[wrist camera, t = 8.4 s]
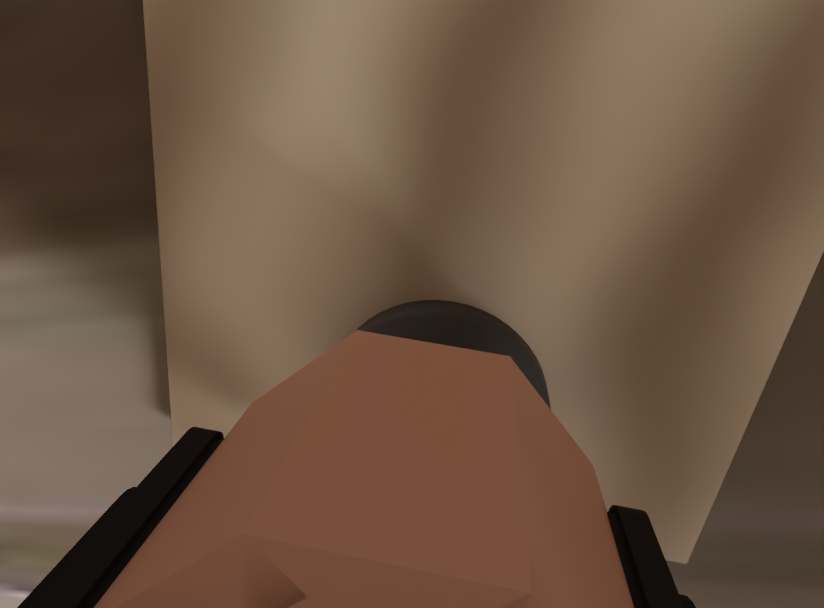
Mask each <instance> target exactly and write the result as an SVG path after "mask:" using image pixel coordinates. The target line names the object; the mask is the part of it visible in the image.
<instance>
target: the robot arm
mask: <svg viewBox="0 0 824 608" xmlns="http://www.w3.org/2000/svg"><path fill="white" fill-rule="evenodd" d="M223 440H224V435H223V433H222V432H220V431H215V430H210V429H204V428H199V427H191V428H190V429H189V430H188V431H187V432H186V433H185V434H184V435H183V436H182V437H181V438H180V440H179V441H178V442H177V443H176V444H175V445H174V446H173V447H172V448H171V450H170V451H169V452H168V453H167V454H166V455H165V456H164V457H163V458H162V460H161V461H160V462H159V463H158V464H157V465H156V466H155V467H154V468H153V470H152V471H151V472H150V473H149V474H148V475H147V476H146V477H145V478H144V480H143V481H142V482H141V483H140V484H139V485H138V486H137V487H132V488H130V489H128V490H126V491H125V492H124V493H123V494H122V495H121V496H120V497H119V498H118V499H117V500H116V501H115V502H114V503H113V504H112V505H111V506H110V508H109V509H108V510H107V511H106V512H105V513H104V514H103V515H102V516H101V517H100V518H99V520H98V521H97V522H96V523H95V524H94V525H93V526H92V527H91V528H90V529H89V530H88V531H87V533H86V534H85V535H84V536H83V537H82V538H81V539H80V540H79V541H78V542H77V543H76V545H75V546H74V547H73V548H72V549H71V550H70V551H69V552H68V553H67V554H66V555H65V556H64V558H63V559H62V560H61V561H60V562H59V563H58V564H57V565H56V566H55V567H54V568H53V570H52V571H51V572H50V573H49V574H48V575H47V576H46V577H45V578H44V579H43V580H42V581H41V583H40V584H39V585H38V586H37V587H36V588H35V589H34V590H33V591H32V592H31V593H30V595H29V596H28V597H27V598H26V599H25V600H24V601H23V602H22V603H21V604H20V605H19V606H18V608H94V607H95V605H96V604H97V603H98V602H99V600H100V599H101V598H102V596H103V595H104V594H105V593H106V591H107V590H108V589H109V587H110V586H111V585H112V583H113V582H114V581H115V580H116V578H117V577H118V576H119V574H120V573H121V572H122V570H123V569H124V568H125V567H126V565H127V564H128V563H129V561H130V560H131V559H132V558H133V556H134V555H135V554H136V552H137V551H138V550H139V548H140V547H141V546H142V545H143V543H144V542H145V541H146V539H147V538H148V537H149V536H150V534H151V533H152V532H153V530H154V529H155V528H156V526H157V525H158V524H159V523H160V521H161V520H162V519H163V517H164V516H165V515H166V513H167V512H168V511H169V510H170V508H171V507H172V506H173V504H174V503H175V502H176V501H177V499H178V498H179V497H180V495H181V494H182V493H183V491H184V490H185V489H186V488H187V486H188V485H189V484H190V482H191V481H192V480H193V479H194V477H195V476H196V475H197V473H198V472H199V471H200V469H201V468H202V467H203V466H204V464H205V463H206V462H207V460H208V459H209V458H210V457H211V455H212V454H213V453H214V451H215V450H216V449H217V447H218V446H219V445H220V444H221V442H222V441H223ZM607 516H608V520H609V523H610V526H611V530H612V533H613V537H614V540H615V544H616V547H617V550H618V554H619V557H620V561H621V564H622V568H623V571H624V574H625V578H626V581H627V585H628V588H629V592H630V595H631V598H632V602H633V605H634V608H696V607H695V606H694V604H693V602H692V601H691V600H690V599H689V598H688V597H687V596H684V595H679V593H678V591H677V588H676V586H675V583H674V581H673V578H672V575H671V573H670V570H669V568H668V565H667V563H666V560H665V557H664V555H663V552H662V550H661V547H660V545H659V542H658V539H657V537H656V534H655V532H654V529H653V527H652V524H651V521H650V519H649V516H648V515H647V513H646V512H645V511H644V510H639V509H634V508H628V507H623V506H618V505H612V506H611V507H610V509H609V511H608V512H607Z"/></svg>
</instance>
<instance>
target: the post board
mask: <svg viewBox="0 0 824 608" xmlns="http://www.w3.org/2000/svg"><path fill="white" fill-rule="evenodd" d="M143 11H144V26H145V41H146V55H147V70H148V85H149V100H150V114H151V129H152V144H153V159H154V173H155V188H156V203H157V218H158V232H159V247H160V262H161V277H162V291H163V306H164V321H165V336H166V350H167V365H168V380H169V395H170V409H171V424H172V439H173V446H174V445H175V444H176V443H177V442H178V441H179V440H180V438H181V437H182V436H183V435H184V434H185V433H186V432H187V431H188V430H189V429H190V428H191V427H199V428H204V429H210V430H215V431H220V432H222V433H223V435H224V438H225V437H226V436H227V434H228V433H229V432H230V431H231V429H232V428H233V427H234V425H235V424H236V423H237V422H238V420H239V419H240V418H241V416H242V415H243V414H244V412H245V411H246V410H247V409H248V407H249V406H250V405H251V403H252V402H253V401H255V400H256V399H258V398H259V397H261V396H262V395H264V394H265V393H267V392H268V391H269V390H271V389H272V388H274V387H275V386H277V385H278V384H280V383H281V382H282V381H284V380H285V379H287V378H288V377H290V376H291V375H293V374H294V373H296V372H297V371H298V370H300V369H301V368H303V367H304V366H306V365H307V364H309V363H310V362H312V361H313V360H314V359H316V358H317V357H319V356H320V355H322V354H323V353H325V352H326V351H327V350H329V349H330V348H332V347H333V346H335V345H336V344H338V343H339V342H341V341H342V340H343V339H345V338H346V337H348V336H349V335H351V334H352V333H354V332H355V331H356V330H360V331H366V332H372V333H378V334H383V335H389V336H395V337H401V338H407V339H412V340H418V341H424V342H430V343H436V344H441V345H447V346H453V347H459V348H465V349H471V350H476V351H482V352H488V353H494V354H500V355H505V356H510V357H511V358H512V360H513V361H514V362H515V364H516V365H517V366H518V368H519V369H520V370H521V371H522V373H523V374H524V375H525V377H526V378H527V379H528V381H529V382H530V383H531V385H532V386H533V387H534V388H535V390H536V391H537V392H538V394H539V395H540V396H541V398H542V399H543V400H544V402H545V403H546V404H547V406H548V407H549V408H550V409H551V411H552V412H553V413H554V415H555V416H556V417H557V419H558V420H559V421H560V423H561V424H562V425H563V426H564V428H565V429H566V430H567V432H568V433H569V434H570V436H571V437H572V438H573V440H574V441H575V442H576V443H577V445H578V446H579V447H580V449H581V450H582V451H583V453H584V454H585V455H586V457H587V458H588V459H589V460H590V462H591V463H592V464H593V466H594V469H595V473H596V476H597V480H598V483H599V486H600V490H601V493H602V497H603V500H604V503H605V507H606V510H607V512H608V511H609V509H610V507H611V506H612V505H618V506H623V507H628V508H634V509H639V510H644V511H645V512H646V513H647V515H648V516H649V519H650V521H651V524H652V527H653V529H654V532H655V534H656V537H657V539H658V542H659V545H660V547H661V550H662V552H663V555H664V557H665V560H668V561H673V562H678V563H683V564H687V562H688V560H689V558H690V555H691V553H692V551H693V549H694V546H695V544H696V542H697V539H698V537H699V535H700V533H701V530H702V528H703V526H704V523H705V521H706V519H707V517H708V514H709V512H710V510H711V507H712V505H713V503H714V501H715V498H716V496H717V494H718V492H719V489H720V487H721V485H722V482H723V480H724V478H725V476H726V473H727V471H728V469H729V466H730V464H731V462H732V460H733V457H734V455H735V453H736V450H737V448H738V446H739V444H740V441H741V439H742V437H743V434H744V432H745V430H746V428H747V425H748V423H749V421H750V418H751V416H752V414H753V412H754V409H755V407H756V405H757V402H758V400H759V398H760V396H761V393H762V391H763V389H764V386H765V384H766V382H767V380H768V377H769V375H770V373H771V370H772V368H773V366H774V364H775V361H776V359H777V357H778V354H779V352H780V350H781V348H782V345H783V343H784V341H785V338H786V336H787V334H788V332H789V329H790V327H791V325H792V322H793V320H794V318H795V316H796V313H797V311H798V309H799V307H800V304H801V302H802V300H803V297H804V295H805V293H806V291H807V288H808V286H809V284H810V281H811V279H812V277H813V275H814V272H815V270H816V268H817V265H818V263H819V261H820V259H821V256H822V254H823V252H824V0H143Z"/></svg>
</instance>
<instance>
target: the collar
mask: <svg viewBox="0 0 824 608" xmlns="http://www.w3.org/2000/svg"><path fill="white" fill-rule="evenodd" d="M94 608H634V605H633V602H632V598H631V595H630V592H629V588H628V585H627V581H626V578H625V574H624V571H623V568H622V564H621V561H620V557H619V554H618V550H617V547H616V544H615V540H614V537H613V533H612V530H611V526H610V523H609V520H608V516H607V510H606V507H605V503H604V500H603V497H602V493H601V490H600V486H599V483H598V480H597V476H596V473H595V469H594V466H593V464H592V463H591V462H590V460H589V459H588V458H587V457H586V455H585V454H584V453H583V451H582V450H581V449H580V447H579V446H578V445H577V443H576V442H575V441H574V440H573V438H572V437H571V436H570V434H569V433H568V432H567V430H566V429H565V428H564V426H563V425H562V424H561V423H560V421H559V420H558V419H557V417H556V416H555V415H554V413H553V412H552V411H551V409H550V408H549V407H548V406H547V404H546V403H545V402H544V400H543V399H542V398H541V396H540V395H539V394H538V392H537V391H536V390H535V388H534V387H533V386H532V385H531V383H530V382H529V381H528V379H527V378H526V377H525V375H524V374H523V373H522V371H521V370H520V369H519V368H518V366H517V365H516V364H515V362H514V361H513V360H512V358H511V357H510V356H505V355H500V354H494V353H488V352H482V351H476V350H471V349H465V348H459V347H453V346H447V345H441V344H436V343H430V342H424V341H418V340H412V339H407V338H401V337H395V336H389V335H383V334H378V333H372V332H366V331H360V330H356V331H355V332H354V333H352V334H351V335H349V336H348V337H346V338H345V339H343V340H342V341H341V342H339V343H338V344H336V345H335V346H333V347H332V348H330V349H329V350H327V351H326V352H325V353H323V354H322V355H320V356H319V357H317V358H316V359H314V360H313V361H312V362H310V363H309V364H307V365H306V366H304V367H303V368H301V369H300V370H298V371H297V372H296V373H294V374H293V375H291V376H290V377H288V378H287V379H285V380H284V381H282V382H281V383H280V384H278V385H277V386H275V387H274V388H272V389H271V390H269V391H268V392H267V393H265V394H264V395H262V396H261V397H259V398H258V399H256V400H255V401H253V402H252V403H251V405H250V406H249V407H248V409H247V410H246V411H245V412H244V414H243V415H242V416H241V418H240V419H239V420H238V422H237V423H236V424H235V425H234V427H233V428H232V429H231V431H230V432H229V433H228V434H227V436H226V437H225V438H224V440H223V441H222V442H221V444H220V445H219V446H218V447H217V449H216V450H215V451H214V453H213V454H212V455H211V457H210V458H209V459H208V460H207V462H206V463H205V464H204V466H203V467H202V468H201V469H200V471H199V472H198V473H197V475H196V476H195V477H194V479H193V480H192V481H191V482H190V484H189V485H188V486H187V488H186V489H185V490H184V491H183V493H182V494H181V495H180V497H179V498H178V499H177V501H176V502H175V503H174V504H173V506H172V507H171V508H170V510H169V511H168V512H167V513H166V515H165V516H164V517H163V519H162V520H161V521H160V523H159V524H158V525H157V526H156V528H155V529H154V530H153V532H152V533H151V534H150V536H149V537H148V538H147V539H146V541H145V542H144V543H143V545H142V546H141V547H140V548H139V550H138V551H137V552H136V554H135V555H134V556H133V558H132V559H131V560H130V561H129V563H128V564H127V565H126V567H125V568H124V569H123V570H122V572H121V573H120V574H119V576H118V577H117V578H116V580H115V581H114V582H113V583H112V585H111V586H110V587H109V589H108V590H107V591H106V593H105V594H104V595H103V596H102V598H101V599H100V600H99V602H98V603H97V604H96V605H95V607H94Z"/></svg>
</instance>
